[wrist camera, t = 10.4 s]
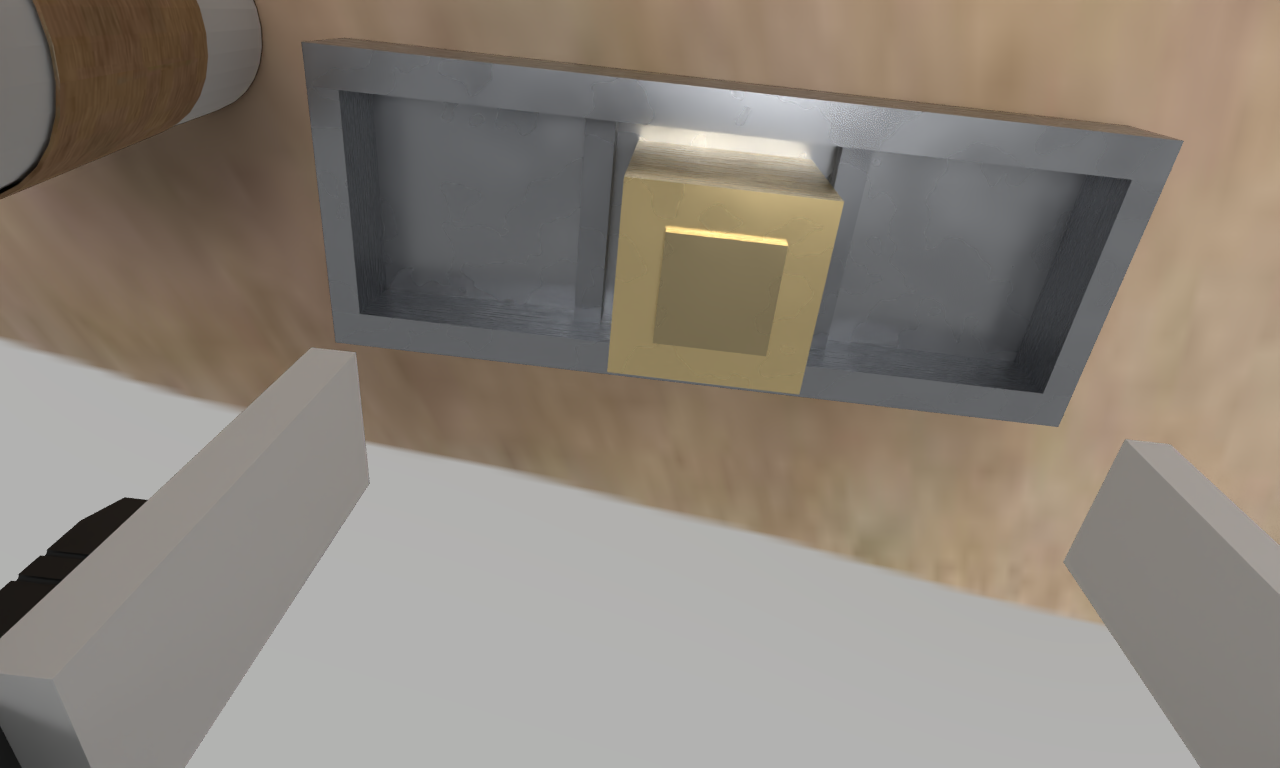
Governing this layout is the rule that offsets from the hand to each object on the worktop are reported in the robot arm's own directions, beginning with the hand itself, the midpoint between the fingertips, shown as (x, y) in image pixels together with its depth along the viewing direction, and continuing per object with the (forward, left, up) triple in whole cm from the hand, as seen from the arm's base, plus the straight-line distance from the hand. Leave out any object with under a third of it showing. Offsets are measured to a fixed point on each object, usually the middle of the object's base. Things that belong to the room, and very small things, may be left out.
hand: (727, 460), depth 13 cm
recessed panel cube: (0, 0, -15) cm, 15 cm away
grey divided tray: (0, 0, -16) cm, 16 cm away
